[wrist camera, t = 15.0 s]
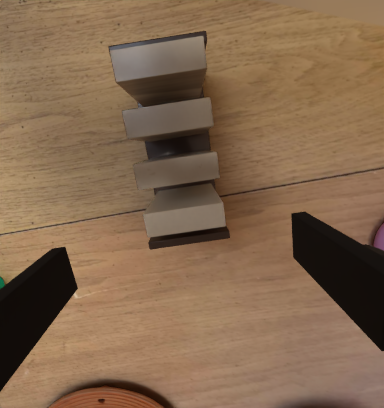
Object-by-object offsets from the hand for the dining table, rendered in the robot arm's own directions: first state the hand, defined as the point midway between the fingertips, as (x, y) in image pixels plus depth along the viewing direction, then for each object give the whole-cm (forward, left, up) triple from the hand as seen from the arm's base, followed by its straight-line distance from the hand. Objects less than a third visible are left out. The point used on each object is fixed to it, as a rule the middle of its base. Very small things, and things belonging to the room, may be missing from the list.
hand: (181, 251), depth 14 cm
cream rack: (-5, -2, -19) cm, 20 cm away
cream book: (0, 0, -18) cm, 18 cm away
